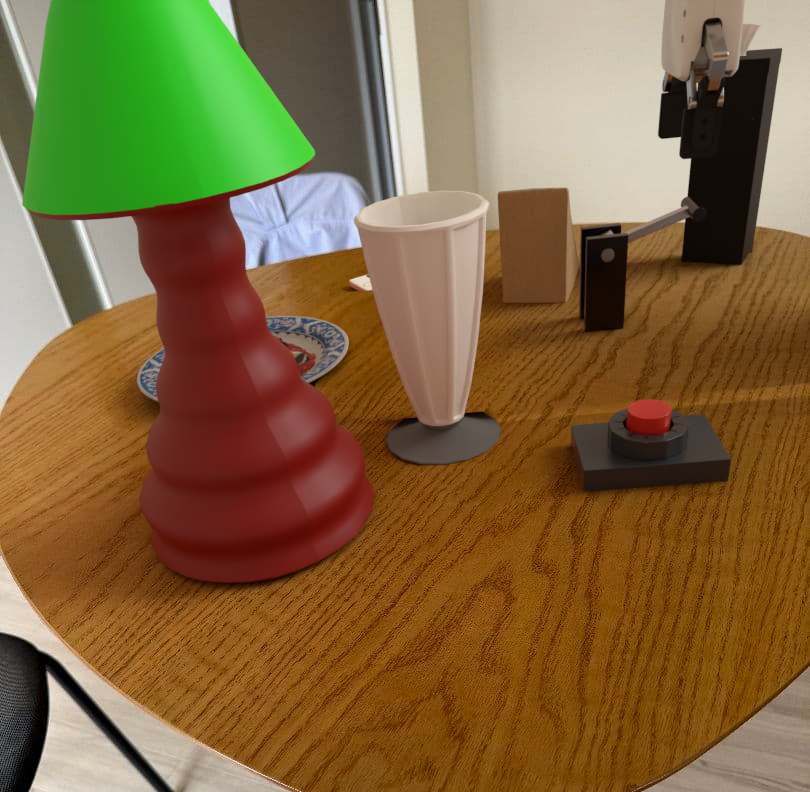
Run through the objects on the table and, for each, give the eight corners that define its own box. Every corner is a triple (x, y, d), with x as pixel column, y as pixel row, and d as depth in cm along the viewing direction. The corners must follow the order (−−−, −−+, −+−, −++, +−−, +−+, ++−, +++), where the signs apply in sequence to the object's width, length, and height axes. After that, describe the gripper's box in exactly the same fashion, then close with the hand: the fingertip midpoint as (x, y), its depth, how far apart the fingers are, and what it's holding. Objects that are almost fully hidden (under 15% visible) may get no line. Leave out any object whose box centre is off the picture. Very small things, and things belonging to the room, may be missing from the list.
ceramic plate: (323, 317, 109) (319, 296, 107) (377, 387, 88) (373, 362, 87) (137, 360, 104) (130, 338, 102) (148, 444, 83) (140, 419, 82)
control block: (702, 435, 72) (707, 395, 70) (727, 481, 66) (734, 440, 63) (570, 445, 73) (571, 407, 71) (583, 492, 67) (584, 452, 65)
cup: (412, 478, 72) (380, 237, 59) (369, 428, 81) (334, 209, 68) (522, 443, 75) (515, 206, 62) (470, 398, 83) (454, 182, 71)
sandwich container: (582, 271, 111) (584, 157, 102) (568, 312, 100) (569, 187, 91) (522, 272, 114) (519, 161, 105) (501, 312, 102) (496, 190, 93)
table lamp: (210, 624, 59) (-77, -182, 32) (121, 517, 72) (-131, -109, 46) (419, 515, 67) (328, -196, 40) (304, 438, 81) (180, -131, 54)
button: (664, 415, 69) (666, 397, 68) (674, 435, 66) (676, 416, 65) (622, 418, 69) (623, 400, 68) (630, 438, 66) (631, 420, 65)
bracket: (644, 315, 96) (651, 215, 89) (659, 341, 90) (667, 235, 83) (546, 325, 97) (545, 227, 90) (553, 350, 91) (553, 247, 84)
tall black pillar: (740, 275, 103) (775, 23, 87) (679, 271, 107) (701, 29, 90) (752, 256, 109) (787, 15, 92) (693, 253, 112) (717, 21, 96)
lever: (696, 210, 87) (691, 189, 86) (708, 222, 83) (703, 201, 82) (590, 255, 91) (584, 236, 89) (597, 269, 87) (591, 249, 85)
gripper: (790, -93, 57) (753, 161, 67) (727, -83, 71) (704, 126, 81) (684, -79, 58) (663, 170, 68) (642, -72, 72) (629, 134, 82)
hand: (685, 146), depth 75 cm, fingers open, 9 cm apart
